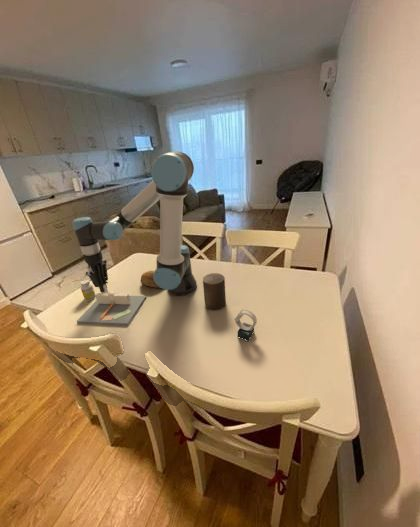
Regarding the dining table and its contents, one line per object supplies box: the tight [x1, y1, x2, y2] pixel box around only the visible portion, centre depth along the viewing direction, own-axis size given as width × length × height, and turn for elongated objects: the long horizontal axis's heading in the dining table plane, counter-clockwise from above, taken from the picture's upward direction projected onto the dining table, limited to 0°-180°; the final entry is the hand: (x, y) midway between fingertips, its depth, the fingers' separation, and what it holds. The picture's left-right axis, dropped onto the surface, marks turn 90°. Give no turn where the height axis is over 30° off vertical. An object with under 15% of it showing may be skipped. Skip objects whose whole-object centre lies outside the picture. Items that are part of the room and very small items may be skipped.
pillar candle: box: [202, 272, 227, 311], centre depth 106 cm, size 10×10×15 cm
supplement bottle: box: [80, 279, 96, 302], centre depth 119 cm, size 5×5×10 cm
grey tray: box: [76, 295, 147, 327], centre depth 110 cm, size 24×20×1 cm
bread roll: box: [140, 270, 160, 289], centre depth 126 cm, size 10×15×8 cm, turn 65°
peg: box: [95, 290, 131, 318], centre depth 107 cm, size 16×13×6 cm
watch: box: [234, 309, 258, 341], centre depth 88 cm, size 6×8×11 cm
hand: (105, 295), depth 116 cm, fingers closed
